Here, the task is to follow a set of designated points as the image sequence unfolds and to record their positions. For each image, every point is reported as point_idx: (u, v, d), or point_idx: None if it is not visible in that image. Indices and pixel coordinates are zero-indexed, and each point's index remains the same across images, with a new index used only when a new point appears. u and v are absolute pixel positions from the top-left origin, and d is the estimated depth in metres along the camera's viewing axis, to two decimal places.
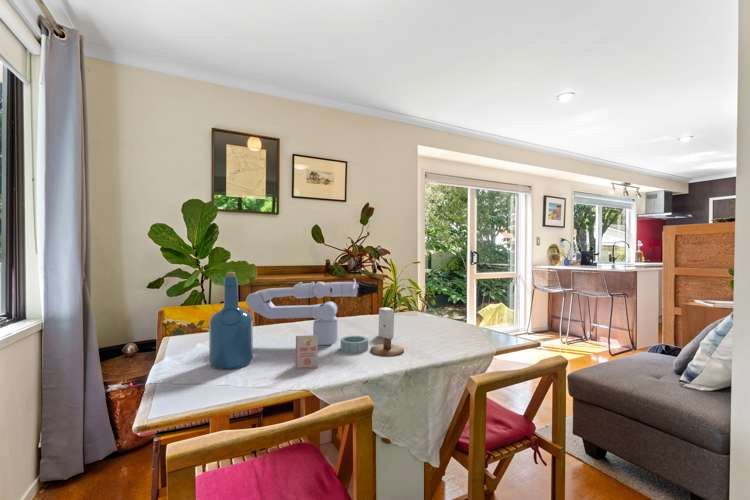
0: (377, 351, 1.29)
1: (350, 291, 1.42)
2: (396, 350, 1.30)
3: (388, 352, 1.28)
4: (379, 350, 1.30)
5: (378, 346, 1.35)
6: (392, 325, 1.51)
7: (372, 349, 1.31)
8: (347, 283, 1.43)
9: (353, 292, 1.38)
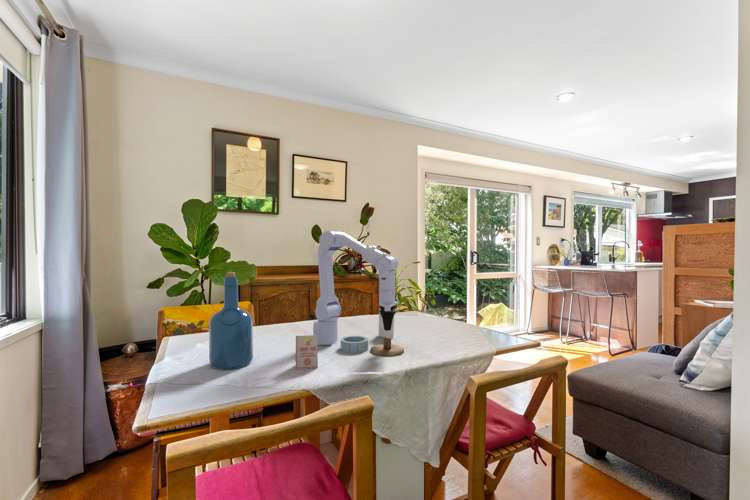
0: (377, 351, 1.29)
1: (385, 299, 1.29)
2: (396, 350, 1.30)
3: (388, 352, 1.28)
4: (379, 350, 1.30)
5: (378, 346, 1.35)
6: (392, 325, 1.51)
7: (372, 349, 1.32)
8: (393, 296, 1.30)
9: (385, 306, 1.25)
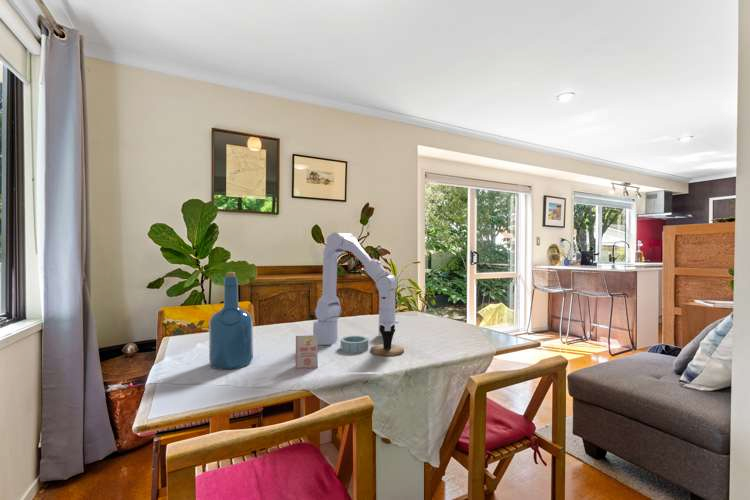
0: (377, 351, 1.29)
1: (385, 318, 1.29)
2: (396, 350, 1.30)
3: (388, 352, 1.28)
4: (379, 350, 1.30)
5: (378, 346, 1.35)
6: None
7: (372, 349, 1.32)
8: (393, 315, 1.30)
9: (385, 326, 1.25)
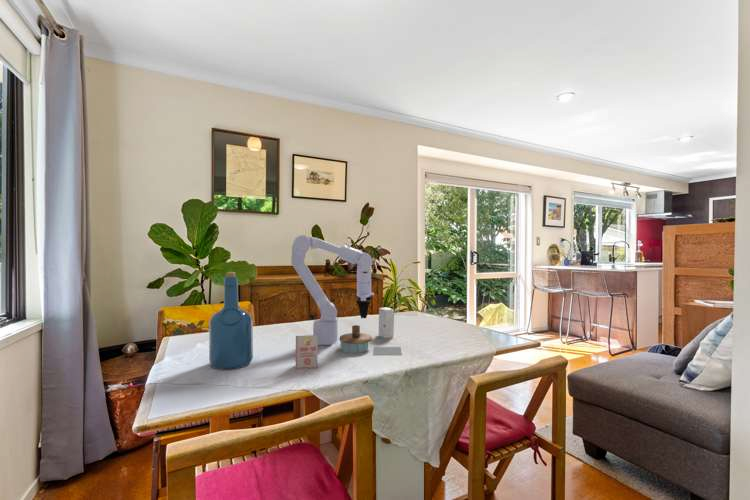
0: (345, 339, 1.32)
1: (361, 290, 1.45)
2: (364, 339, 1.33)
3: (355, 340, 1.31)
4: (347, 338, 1.34)
5: (348, 334, 1.39)
6: (392, 325, 1.51)
7: (341, 337, 1.35)
8: (369, 288, 1.46)
9: (361, 297, 1.41)
